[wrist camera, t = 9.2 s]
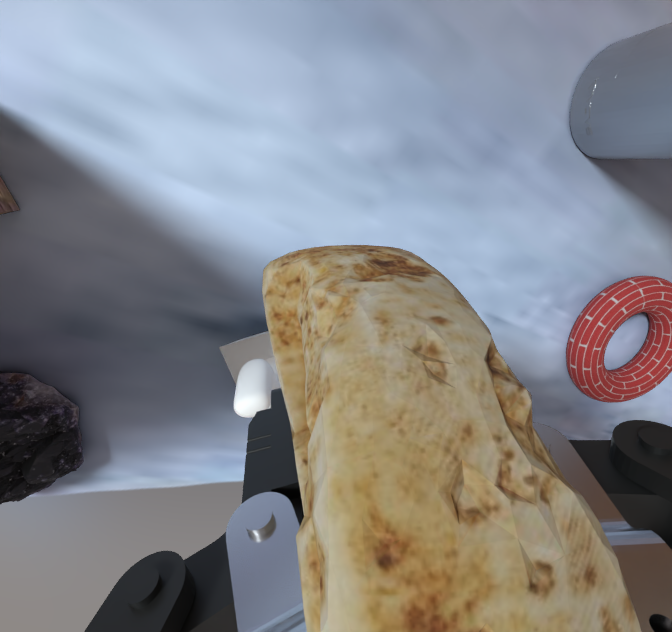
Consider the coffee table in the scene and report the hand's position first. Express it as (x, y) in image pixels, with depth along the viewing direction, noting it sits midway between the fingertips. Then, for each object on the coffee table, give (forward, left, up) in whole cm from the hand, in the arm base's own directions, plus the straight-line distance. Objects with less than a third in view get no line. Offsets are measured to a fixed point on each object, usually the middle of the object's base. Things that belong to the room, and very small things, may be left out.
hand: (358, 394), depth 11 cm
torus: (-34, +19, -24) cm, 45 cm away
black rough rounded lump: (+31, +12, -24) cm, 40 cm away
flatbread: (0, 0, -2) cm, 2 cm away
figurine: (+5, +10, -23) cm, 26 cm away
